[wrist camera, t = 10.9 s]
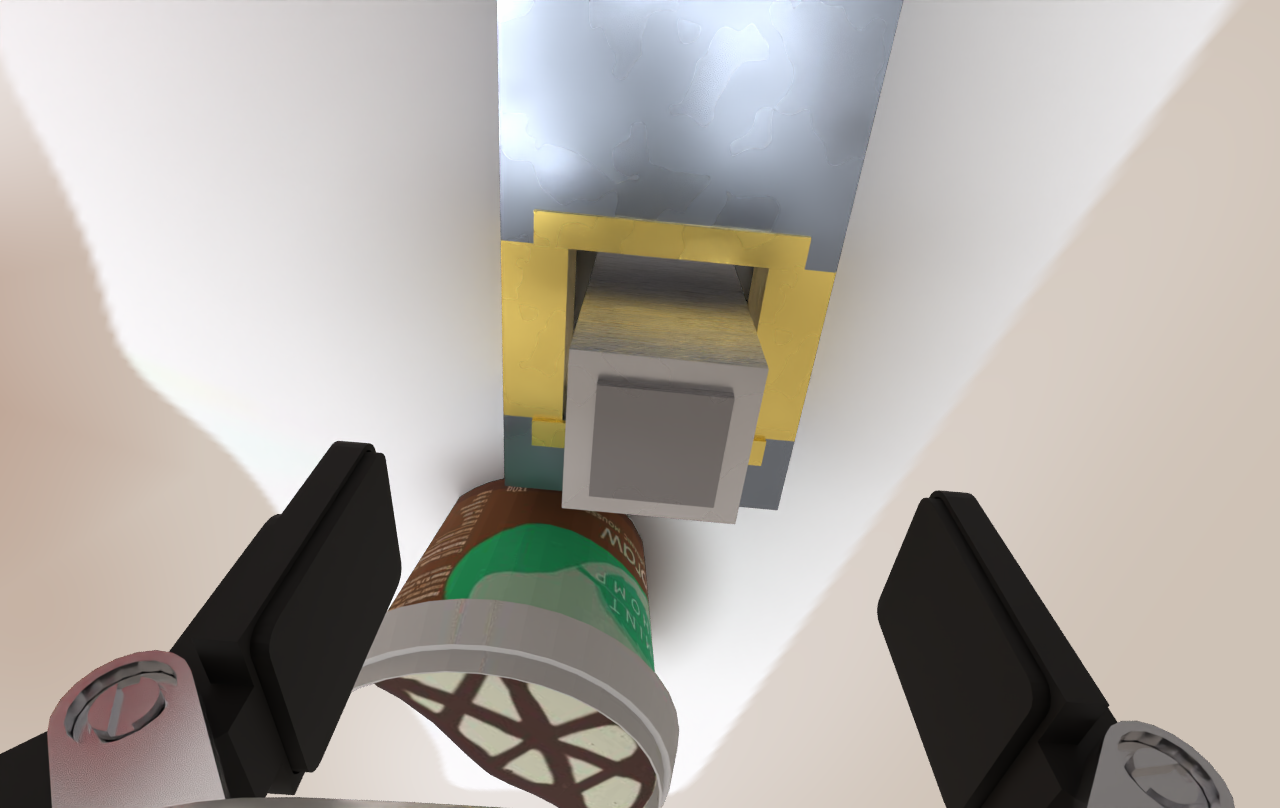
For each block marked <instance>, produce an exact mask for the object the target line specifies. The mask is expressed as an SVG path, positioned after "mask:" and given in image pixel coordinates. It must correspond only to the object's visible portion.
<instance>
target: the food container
mask: <svg viewBox="0 0 1280 808" xmlns="http://www.w3.org/2000/svg"><path fill="white" fill-rule="evenodd" d="M371 684H375V685H376V686H378V687H380V688H382V689H383V690H386V691H387V692H389V693H391V694H393V695H394V696H396V697H398V698H400V699H401V700H403V701H404V702H405V703H407V704H408V705H410V706H411V707H412V708H414V709H415V710H416V711H418V712H419V713H420V714H422V715H423V716H425V717H426V718H427V719H429V720H430V721H431V722H433V723H434V724H435V725H436V726H437V727H438V728H439V729H440V730H441V731H442V732H443V733H444V734H446V735H447V736H448V737H449V738H450V739H451V740H452V741H453V742H454V743H455V744H456V745H457V746H458V747H459V748H460V749H461V750H462V751H463V752H464V753H466V754H467V755H468V756H469V757H470V758H471V759H472V760H473V761H474V762H476V763H477V764H478V765H479V766H480V767H481V768H483V769H484V770H485V771H486V772H488V773H489V774H490V775H492V776H494V777H496V778H498V779H500V780H502V781H504V782H506V783H508V784H510V785H513V786H515V787H517V788H520V789H522V790H525V791H527V792H529V793H532V794H534V795H536V796H538V797H540V798H542V799H544V800H546V801H548V802H550V803H552V804H554V805H555V806H557V807H558V808H661V807H662V806H663V804H664V802H665V799H666V797H667V794H668V791H669V789H670V783H671V778H672V773H673V768H674V763H675V757H676V752H677V746H678V736H679V726H678V719H677V712H676V709H675V707H674V704H673V702H672V699H671V697H670V694H669V692H668V691H667V689H666V688H665V686H664V685H663V683H662V682H661V680H660V679H659V677H658V676H657V674H656V673H655V670H654V658H653V647H652V636H651V624H650V613H649V601H648V590H647V579H646V567H645V559H644V551H643V542H642V540H641V538H640V536H639V534H638V532H637V530H636V528H635V527H634V525H633V523H632V521H631V520H630V519H629V518H628V517H627V515H626V514H620V513H610V512H599V511H588V510H578V509H567V508H562V491H557V490H546V489H535V488H523V487H512V486H505V478H504V479H500V480H496V481H492V482H489V483H486V484H484V485H481V486H479V487H476V488H474V489H472V490H471V491H469V492H467V493H466V494H464V495H462V496H461V497H459V499H458V501H457V502H456V504H455V505H454V507H453V508H452V510H451V512H450V513H449V515H448V516H447V518H446V520H445V521H444V523H443V524H442V526H441V527H440V529H439V531H438V532H437V534H436V535H435V537H434V539H433V540H432V542H431V543H430V545H429V546H428V548H427V550H426V551H425V553H424V554H423V556H422V558H421V559H420V561H419V562H418V564H417V565H416V567H415V569H414V570H413V572H412V573H411V575H410V577H409V578H408V580H407V581H406V583H405V584H404V586H403V588H402V589H401V591H400V592H399V594H398V596H397V597H396V599H395V600H394V602H393V603H392V605H391V607H390V608H389V610H388V611H387V612H386V614H385V616H384V619H383V621H382V623H381V625H380V628H379V630H378V632H377V635H376V637H375V639H374V641H373V644H372V646H371V648H370V650H369V653H368V655H367V657H366V660H365V662H364V664H363V666H362V669H361V671H360V673H359V676H358V678H357V680H356V682H355V685H354V687H353V689H352V691H351V692H353V691H355V690H357V689H359V688H361V687H365V686H368V685H371Z"/></svg>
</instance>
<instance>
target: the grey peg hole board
mask: <svg viewBox="0 0 1280 808" xmlns="http://www.w3.org/2000/svg"><path fill="white" fill-rule="evenodd" d="M902 4H903V0H497V29H498V92H499V156H500V220H501V283H502V347H503V411H504V474H505V486H512V487H523V488H535V489H546V490H557V491H563V470H564V449H565V428H566V406H567V385H568V364H569V348H570V345H571V341H572V338H573V327H574V303H575V280H576V256H577V250H586V251H597V252H607V253H617V254H628V255H638V256H648V257H659V258H669V259H679V260H690V261H700V262H710V263H721V264H731V265H741V266H752V267H754V270H753V276H752V281H751V287H750V292H749V298H748V303H747V305H748V308H749V311H750V314H751V317H752V320H753V323H754V326H755V329H756V332H757V335H758V338H759V341H760V344H761V347H762V350H763V353H764V356H765V359H766V362H767V365H768V368H769V370H768V375H767V380H766V384H765V389H764V393H763V398H762V403H761V407H760V412H759V416H758V421H757V426H756V430H755V435H754V439H753V444H752V449H751V453H750V458H749V462H748V467H747V472H746V476H745V481H744V485H743V490H742V495H741V499H740V504H739V507H748V508H760V509H771V510H778V506H779V502H780V498H781V493H782V489H783V485H784V481H785V477H786V473H787V469H788V465H789V461H790V457H791V453H792V449H793V445H794V441H795V437H796V433H797V429H798V425H799V421H800V417H801V412H802V408H803V404H804V400H805V396H806V392H807V388H808V384H809V380H810V376H811V372H812V368H813V364H814V360H815V356H816V352H817V348H818V344H819V340H820V336H821V332H822V327H823V323H824V319H825V315H826V311H827V307H828V303H829V299H830V295H831V291H832V287H833V283H834V279H835V275H836V271H837V267H838V263H839V259H840V255H841V251H842V247H843V242H844V238H845V234H846V230H847V226H848V222H849V218H850V214H851V210H852V206H853V202H854V198H855V194H856V190H857V186H858V182H859V178H860V174H861V170H862V166H863V161H864V157H865V153H866V149H867V145H868V141H869V137H870V133H871V129H872V125H873V121H874V117H875V113H876V109H877V105H878V101H879V97H880V93H881V89H882V85H883V81H884V76H885V72H886V68H887V64H888V60H889V56H890V52H891V48H892V44H893V40H894V36H895V32H896V28H897V24H898V20H899V16H900V12H901V8H902Z"/></svg>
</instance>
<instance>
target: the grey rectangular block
mask: <svg viewBox="0 0 1280 808" xmlns="http://www.w3.org/2000/svg"><path fill="white" fill-rule="evenodd" d="M768 370H769V368H768V365H767V362H766V359H765V356H764V353H763V350H762V347H761V344H760V341H759V338H758V335H757V332H756V329H755V326H754V323H753V320H752V317H751V314H750V311H749V308H748V305H747V302H746V300H745V297H744V294H743V291H742V288H741V285H740V282H739V279H738V276H737V273H736V270H735V267H734V265H731V264H721V263H710V262H700V261H690V260H679V259H669V258H659V257H648V256H638V255H628V254H617V253H607V252H598V253H597V256H596V260H595V263H594V266H593V270H592V273H591V277H590V280H589V283H588V287H587V290H586V294H585V297H584V300H583V304H582V307H581V311H580V314H579V317H578V321H577V324H576V328H575V331H574V335H573V338H572V341H571V345H570V348H569V364H568V385H567V406H566V428H565V449H564V470H563V491H562V508H567V509H578V510H588V511H599V512H610V513H620V514H631V515H642V516H653V517H663V518H674V519H685V520H696V521H706V522H717V523H728V524H735V522H736V518H737V513H738V508H739V504H740V499H741V495H742V490H743V485H744V481H745V476H746V472H747V467H748V462H749V458H750V453H751V449H752V444H753V439H754V435H755V430H756V426H757V421H758V416H759V412H760V407H761V403H762V398H763V393H764V389H765V384H766V380H767V375H768Z"/></svg>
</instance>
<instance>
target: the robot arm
mask: <svg viewBox="0 0 1280 808" xmlns="http://www.w3.org/2000/svg"><path fill="white" fill-rule="evenodd" d="M400 576H401V558H400V552H399V545H398V538H397V532H396V525H395V518H394V511H393V505H392V498H391V491H390V485H389V478H388V471H387V465H386V459H385V456H384V454H383V453H376V451H375V448H374V446H373V445H372V444H370V443H358V442H345V441H337V442H334V443H333V444H332V445H331V447H330V448H329V449H328V451H327V452H326V454H325V455H324V456H323V458H322V459H321V460H320V462H319V463H318V465H317V466H316V467H315V469H314V470H313V471H312V473H311V474H310V476H309V477H308V478H307V480H306V481H305V482H304V484H303V485H302V487H301V488H300V489H299V491H298V492H297V493H296V495H295V496H294V498H293V499H292V500H291V502H290V503H289V504H288V506H287V507H286V509H285V510H284V511H283V513H282V514H277V515H275V516H272V517H271V518H270V519H269V520H268V521H267V522H266V523H265V524H264V525H263V527H262V528H261V530H260V531H259V532H258V533H257V535H256V536H255V537H254V539H253V540H252V541H251V543H250V544H249V545H248V547H247V548H246V549H245V551H244V552H243V553H242V555H241V556H240V557H239V559H238V560H237V561H236V563H235V564H234V566H233V567H232V568H231V569H230V571H229V572H228V573H227V575H226V576H225V578H224V579H223V580H222V582H221V583H220V585H219V586H218V587H217V588H216V590H215V591H214V592H213V594H212V595H211V596H210V598H209V599H208V600H207V602H206V603H205V605H204V606H203V607H202V608H201V610H200V611H199V612H198V614H197V615H196V617H195V618H194V619H193V620H192V622H191V623H190V624H189V626H188V627H187V628H186V630H185V631H184V632H183V634H182V635H181V636H180V638H179V639H178V640H177V642H176V643H175V645H174V646H173V647H172V649H171V650H170V651H169V652H165V651H158V650H154V651H145V652H137V653H133V654H130V655H127V656H124V657H121V658H118V659H115V660H113V661H111V662H109V663H107V664H105V665H103V666H101V667H99V668H97V669H95V670H94V671H92V672H91V673H89V674H88V675H87V676H85V677H84V678H82V679H81V680H80V681H78V682H77V683H76V684H75V685H74V686H73V687H72V688H71V689H70V690H69V691H68V692H67V693H66V694H65V695H64V696H63V697H62V698H61V699H60V701H59V703H58V704H57V706H56V708H55V710H54V711H53V713H52V715H51V716H50V721H49V727H48V731H47V732H45V733H43V734H40V735H38V736H36V737H34V738H32V739H30V740H28V741H26V742H24V743H22V744H20V745H18V746H16V747H14V748H12V749H10V750H8V751H6V752H4V753H1V754H0V808H498V807H482V806H466V805H450V804H433V803H415V802H396V801H373V800H349V799H325V798H300V797H289V798H288V797H285V798H282V797H281V798H265V797H266V795H267V793H270V794H286V795H295V793H296V791H297V788H298V786H299V784H300V782H301V779H302V777H303V775H304V773H305V772H313V771H315V770H316V768H317V767H318V766H319V763H320V762H321V760H322V757H323V755H324V753H325V751H326V748H327V746H328V744H329V741H330V739H331V737H332V735H333V733H334V730H335V728H336V726H337V723H338V721H339V719H340V716H341V714H342V712H343V709H344V707H345V705H346V703H347V700H348V698H349V696H350V694H351V691H352V689H353V687H354V685H355V682H356V680H357V678H358V676H359V673H360V671H361V669H362V666H363V664H364V662H365V660H366V657H367V655H368V653H369V650H370V648H371V646H372V644H373V641H374V639H375V637H376V635H377V632H378V630H379V628H380V625H381V623H382V621H383V619H384V616H385V614H386V612H387V609H388V607H389V605H390V603H391V600H392V598H393V596H394V594H395V591H396V589H397V587H398V584H399V581H400ZM877 613H878V614H877V615H878V620H879V624H880V627H881V629H882V632H883V635H884V638H885V640H886V643H887V646H888V649H889V651H890V654H891V657H892V660H893V663H894V665H895V668H896V671H897V674H898V676H899V679H900V682H901V685H902V687H903V690H904V693H905V696H906V698H907V701H908V704H909V707H910V710H911V712H912V715H913V718H914V720H915V723H916V726H917V729H918V731H919V734H920V737H921V740H922V742H923V745H924V748H925V751H926V754H927V756H928V759H929V762H930V765H931V767H932V770H933V773H934V776H935V778H936V781H937V784H938V787H939V790H940V792H941V795H942V798H943V801H944V803H945V805H946V808H1235V807H1234V801H1233V797H1232V795H1231V793H1230V791H1229V789H1228V788H1227V785H1226V783H1225V782H1224V780H1223V779H1222V778H1221V776H1220V775H1219V774H1218V773H1217V771H1216V770H1215V769H1214V768H1213V766H1212V765H1211V764H1210V763H1209V762H1208V761H1207V760H1206V759H1205V758H1204V757H1203V756H1201V755H1200V754H1199V753H1198V752H1197V751H1196V750H1195V749H1194V748H1193V747H1191V746H1190V745H1188V744H1187V743H1185V742H1184V741H1182V740H1181V739H1179V738H1178V737H1176V736H1175V735H1173V734H1171V733H1169V732H1167V731H1165V730H1163V729H1161V728H1158V727H1156V726H1154V725H1151V724H1147V723H1143V722H1139V721H1120V722H1117V721H1116V719H1115V718H1114V717H1113V715H1112V713H1111V712H1110V710H1109V708H1108V706H1109V704H1108V702H1107V701H1106V699H1105V698H1104V696H1103V694H1102V693H1101V691H1100V690H1099V688H1098V687H1097V685H1096V684H1095V682H1094V681H1093V679H1092V678H1091V676H1090V674H1089V673H1088V671H1087V670H1086V668H1085V667H1084V665H1083V664H1082V662H1081V660H1080V659H1079V657H1078V656H1077V654H1076V653H1075V651H1074V650H1073V648H1072V647H1071V645H1070V644H1069V642H1068V640H1067V639H1066V637H1065V636H1064V634H1063V633H1062V631H1061V630H1060V628H1059V626H1058V625H1057V623H1056V622H1055V620H1054V619H1053V617H1052V616H1051V614H1050V613H1049V611H1048V609H1047V608H1046V607H1045V605H1044V603H1043V602H1042V600H1041V599H1040V597H1039V596H1038V594H1037V592H1036V591H1035V590H1034V588H1033V586H1032V585H1031V583H1030V582H1029V580H1028V579H1027V577H1026V575H1025V574H1024V572H1023V571H1022V569H1021V568H1020V566H1019V565H1018V563H1017V562H1016V560H1015V559H1014V557H1013V555H1012V554H1011V552H1010V551H1009V549H1008V548H1007V546H1006V545H1005V543H1004V542H1003V540H1002V538H1001V537H1000V535H999V534H998V532H997V531H996V529H995V528H994V526H993V525H992V523H991V522H990V520H989V518H988V517H987V515H986V514H985V512H984V511H983V509H982V508H981V506H980V505H979V503H978V501H977V500H976V498H975V497H974V496H973V495H972V494H969V493H962V492H949V491H934V492H933V493H932V494H931V495H930V497H929V498H923V499H922V500H921V501H920V503H919V505H918V508H917V510H916V512H915V515H914V517H913V520H912V522H911V524H910V527H909V529H908V532H907V534H906V537H905V539H904V541H903V544H902V546H901V549H900V551H899V553H898V556H897V558H896V560H895V563H894V565H893V568H892V570H891V572H890V575H889V577H888V580H887V582H886V584H885V587H884V589H883V592H882V594H881V596H880V599H879V602H878V608H877Z"/></svg>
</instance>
